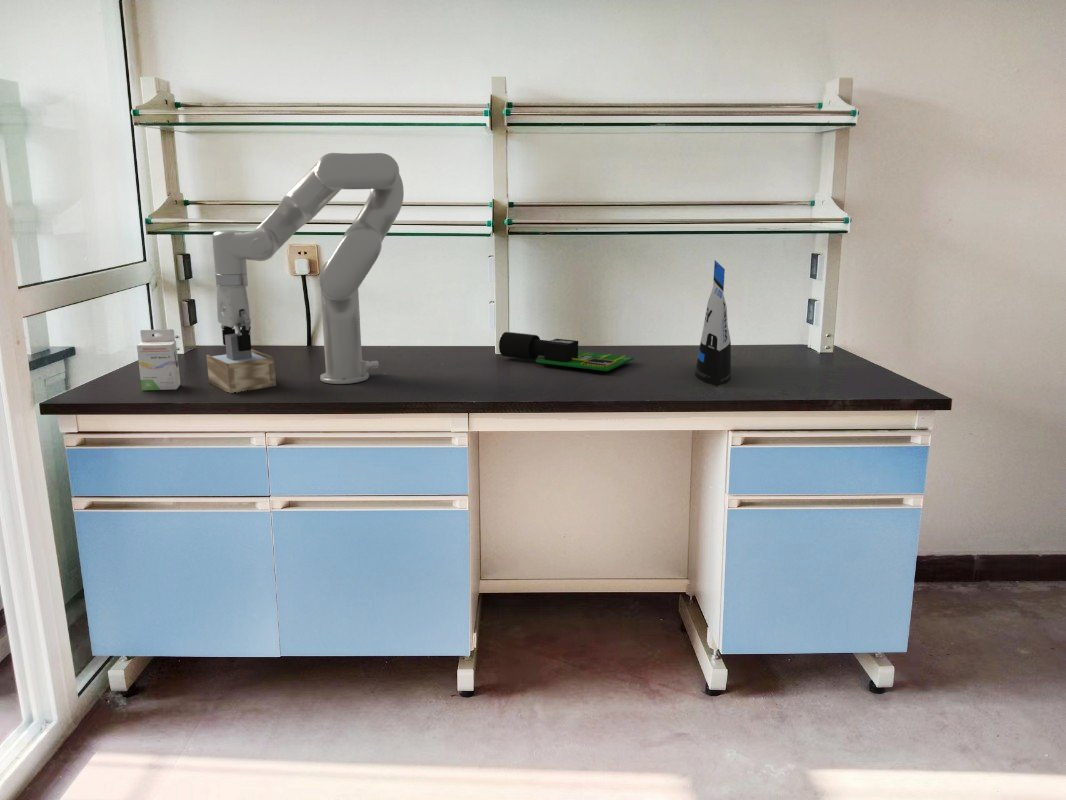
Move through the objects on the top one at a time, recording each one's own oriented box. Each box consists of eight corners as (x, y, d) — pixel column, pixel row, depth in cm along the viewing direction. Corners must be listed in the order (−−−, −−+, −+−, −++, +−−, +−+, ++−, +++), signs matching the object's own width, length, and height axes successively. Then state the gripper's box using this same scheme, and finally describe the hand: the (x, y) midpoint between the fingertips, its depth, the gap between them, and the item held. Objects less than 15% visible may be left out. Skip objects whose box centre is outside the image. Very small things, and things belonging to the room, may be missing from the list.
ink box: (140, 391, 208) (133, 333, 204) (145, 386, 212) (138, 329, 208) (177, 389, 209) (170, 331, 205) (181, 384, 214) (175, 328, 210)
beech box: (253, 376, 223) (251, 348, 221) (276, 385, 213) (273, 357, 211) (209, 383, 215) (206, 355, 214) (230, 393, 205) (227, 363, 203)
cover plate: (248, 354, 221) (246, 329, 219) (269, 362, 211) (267, 336, 210) (210, 360, 214) (207, 333, 213) (230, 368, 205) (227, 341, 203)
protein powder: (725, 366, 235) (732, 260, 227) (736, 387, 211) (744, 269, 204) (691, 365, 236) (697, 259, 228) (698, 386, 212) (705, 269, 205)
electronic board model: (634, 336, 236) (608, 346, 221) (634, 364, 238) (607, 376, 223) (527, 325, 253) (496, 334, 238) (527, 351, 255) (496, 362, 240)
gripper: (204, 278, 211) (209, 344, 216) (230, 285, 199) (236, 354, 203) (233, 276, 216) (238, 340, 221) (260, 283, 204) (265, 351, 208)
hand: (237, 347), depth 212 cm, fingers open, 9 cm apart
